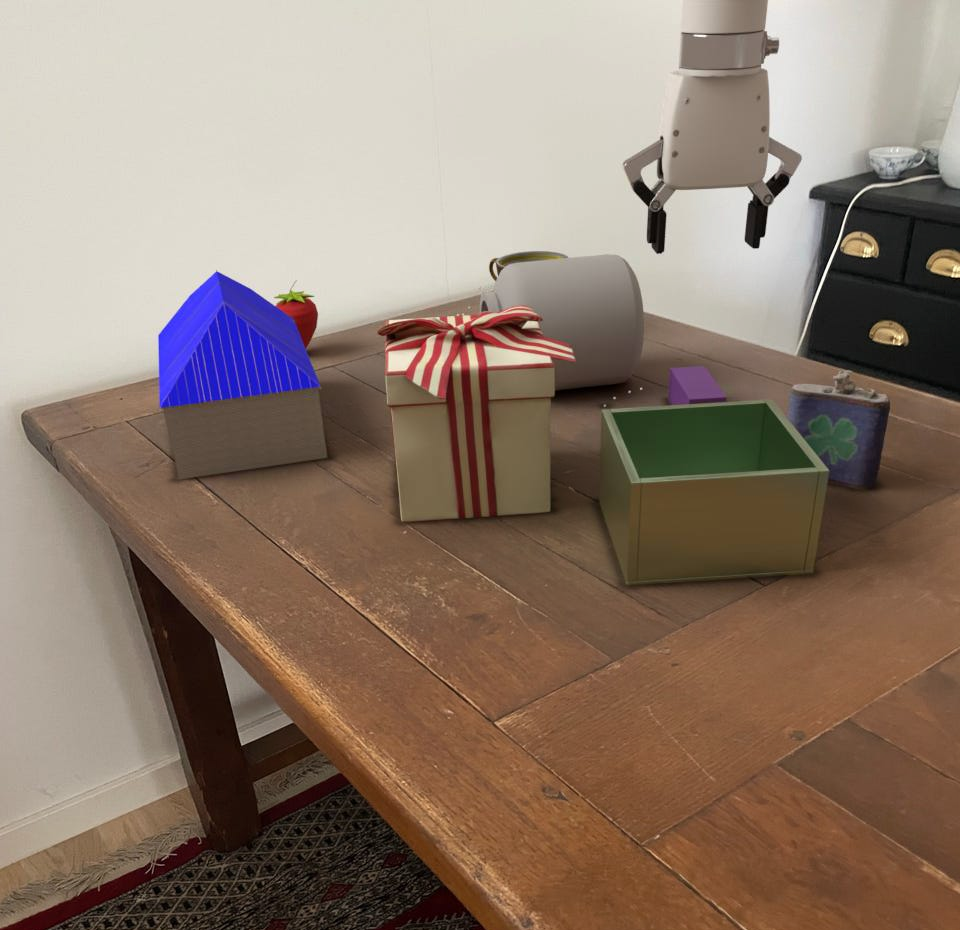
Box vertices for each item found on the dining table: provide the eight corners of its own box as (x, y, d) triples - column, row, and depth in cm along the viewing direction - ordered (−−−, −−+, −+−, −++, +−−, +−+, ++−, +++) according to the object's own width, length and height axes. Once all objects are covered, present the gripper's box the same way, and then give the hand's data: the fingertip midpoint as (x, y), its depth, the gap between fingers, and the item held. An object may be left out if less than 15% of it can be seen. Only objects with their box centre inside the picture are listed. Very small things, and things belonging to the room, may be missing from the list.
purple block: (702, 399, 119) (704, 365, 117) (723, 432, 111) (726, 397, 109) (667, 401, 119) (670, 367, 117) (686, 434, 111) (689, 399, 109)
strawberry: (324, 345, 142) (315, 271, 137) (321, 363, 136) (311, 286, 130) (282, 347, 142) (270, 273, 136) (276, 365, 136) (264, 289, 130)
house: (172, 400, 126) (143, 269, 118) (302, 383, 130) (284, 254, 121) (176, 482, 106) (142, 332, 98) (330, 460, 109) (310, 312, 101)
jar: (653, 379, 112) (424, 358, 110) (623, 439, 126) (420, 422, 124) (654, 230, 116) (435, 208, 115) (626, 304, 131) (430, 286, 129)
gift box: (403, 545, 93) (385, 359, 83) (386, 463, 108) (369, 298, 98) (586, 524, 95) (589, 339, 85) (544, 447, 110) (543, 282, 100)
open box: (760, 493, 98) (772, 398, 93) (813, 575, 85) (829, 470, 80) (599, 504, 98) (601, 409, 93) (626, 587, 85) (631, 482, 80)
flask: (776, 476, 101) (790, 370, 95) (785, 465, 103) (799, 360, 97) (872, 494, 97) (892, 385, 91) (879, 482, 99) (900, 374, 93)
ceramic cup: (584, 331, 142) (585, 257, 136) (537, 350, 136) (536, 273, 131) (515, 315, 150) (513, 244, 144) (467, 333, 144) (464, 259, 138)
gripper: (800, 46, 98) (778, 235, 107) (620, 55, 97) (613, 243, 107) (827, 53, 91) (800, 252, 101) (634, 63, 91) (626, 262, 101)
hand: (704, 247), depth 104 cm, fingers open, 9 cm apart
